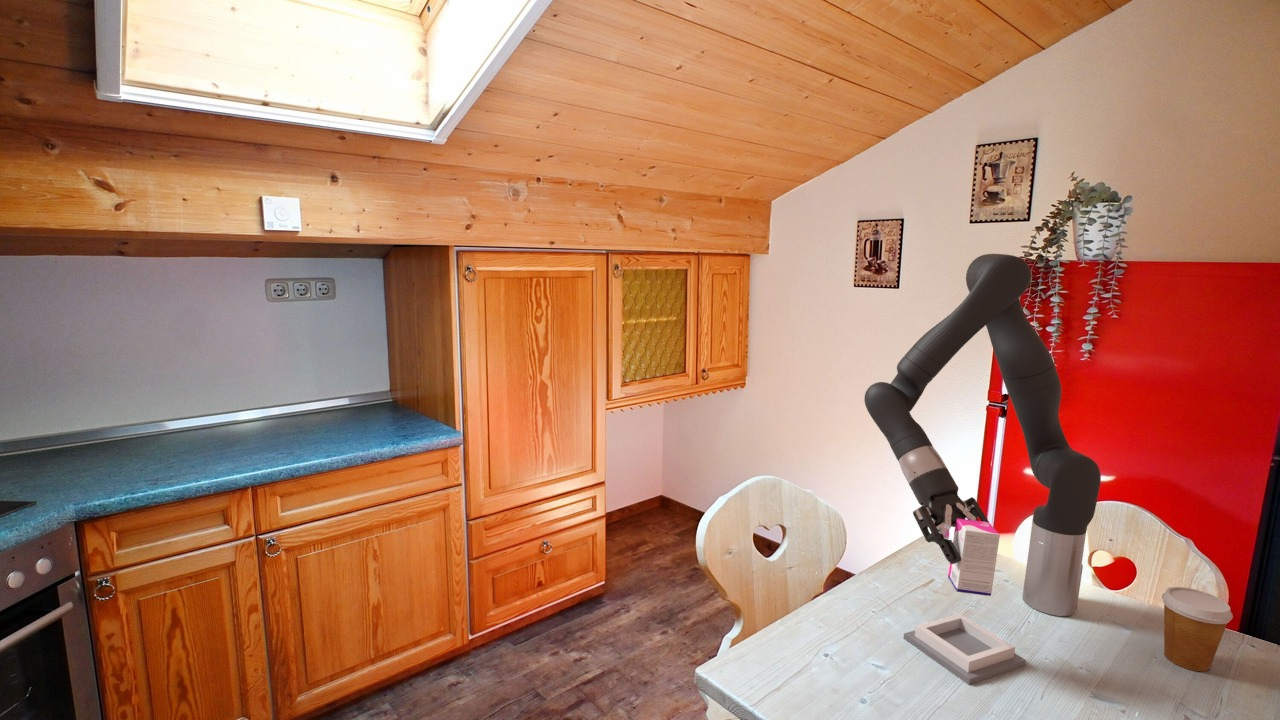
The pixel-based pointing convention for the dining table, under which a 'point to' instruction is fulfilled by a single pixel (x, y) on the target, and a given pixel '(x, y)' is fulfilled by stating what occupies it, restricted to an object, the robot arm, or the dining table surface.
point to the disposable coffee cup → (1193, 627)
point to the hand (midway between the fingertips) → (973, 558)
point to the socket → (965, 648)
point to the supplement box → (974, 557)
